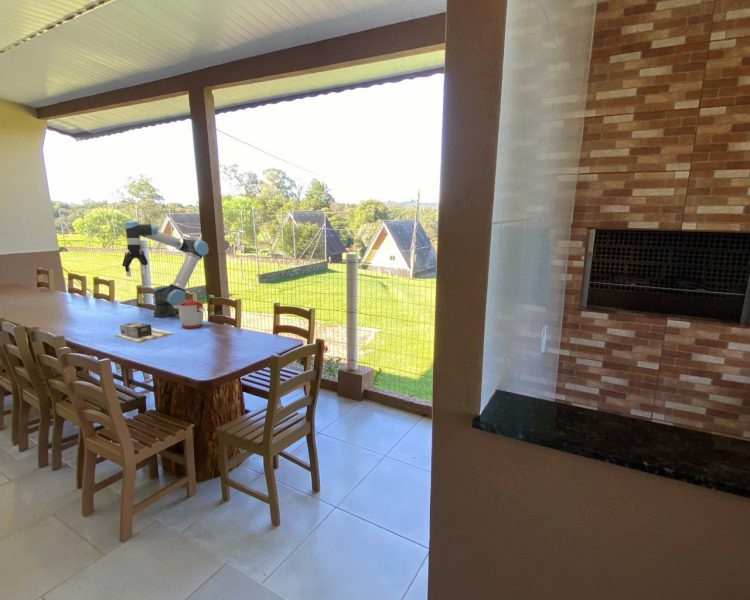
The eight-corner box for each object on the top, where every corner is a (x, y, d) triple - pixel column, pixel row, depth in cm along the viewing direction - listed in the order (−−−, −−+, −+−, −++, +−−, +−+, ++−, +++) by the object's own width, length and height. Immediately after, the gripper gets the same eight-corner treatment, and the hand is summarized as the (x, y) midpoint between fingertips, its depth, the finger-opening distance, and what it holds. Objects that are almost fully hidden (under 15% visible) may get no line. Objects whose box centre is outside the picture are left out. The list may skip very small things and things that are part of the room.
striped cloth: (150, 329, 254) (150, 327, 254) (172, 334, 243) (172, 332, 243) (115, 336, 235) (115, 334, 235) (137, 342, 224) (137, 340, 224)
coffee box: (133, 321, 242) (151, 324, 237) (134, 331, 243) (152, 334, 238) (119, 325, 234) (137, 327, 228) (120, 334, 235) (138, 338, 229)
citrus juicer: (196, 330, 253) (195, 301, 249) (174, 328, 256) (172, 299, 253) (211, 325, 268) (209, 297, 264) (189, 323, 271) (187, 296, 268)
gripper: (142, 243, 269) (145, 273, 272) (113, 244, 244) (117, 277, 248) (152, 243, 267) (154, 273, 271) (123, 245, 243) (127, 277, 247)
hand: (136, 275), depth 260 cm, fingers open, 13 cm apart
